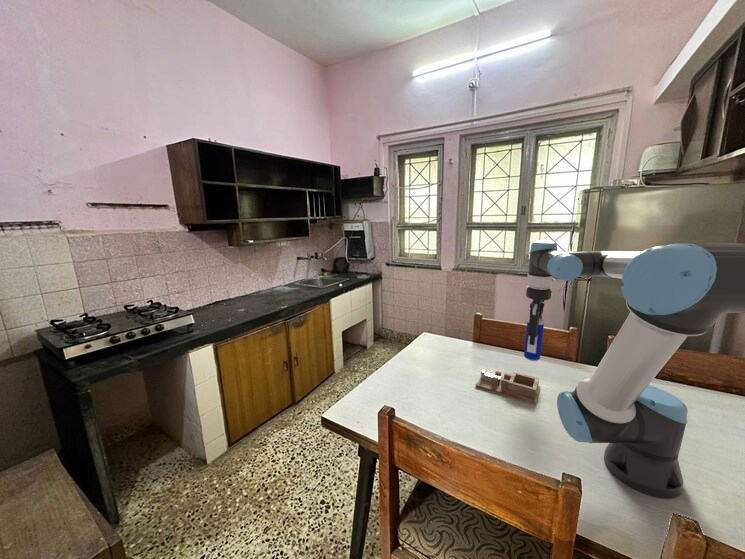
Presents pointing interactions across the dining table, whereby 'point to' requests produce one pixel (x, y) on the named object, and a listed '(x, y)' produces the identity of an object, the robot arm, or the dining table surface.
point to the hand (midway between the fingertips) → (532, 348)
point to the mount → (513, 386)
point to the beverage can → (536, 355)
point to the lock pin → (489, 376)
